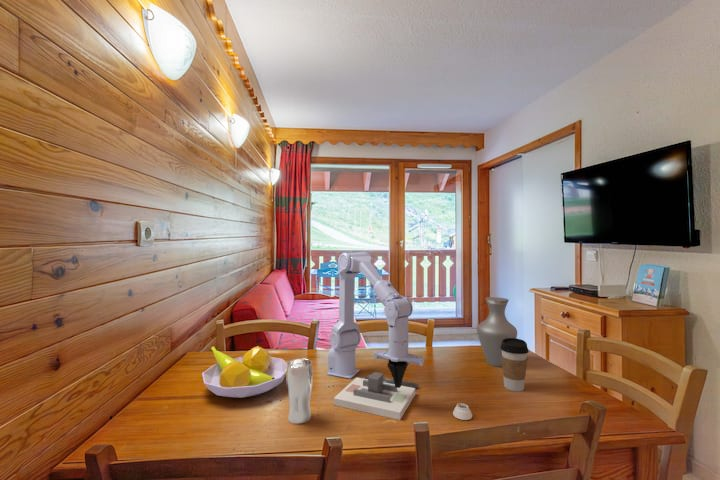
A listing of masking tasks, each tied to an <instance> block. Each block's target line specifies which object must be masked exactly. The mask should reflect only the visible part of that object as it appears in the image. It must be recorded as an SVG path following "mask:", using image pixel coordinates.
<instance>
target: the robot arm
mask: <svg viewBox="0 0 720 480" xmlns="http://www.w3.org/2000/svg"><path fill="white" fill-rule="evenodd" d="M337 274H338V276H339V286H338V287H339V289H338V291H339V295H338V296H339V297H338V300H339V301H338V321H337V322H336V323H335V324H334V325H332V327H331V334H330V336H329V337H330V338H329V340H330V341H329V342H330V345H331V347H330V348H329V350H328V354H327V372H326V374H327V375H328V376H332V377H333V376H334V377H339V378H345V379H352V378H354V376H356V375H357V374H359V372H360V370H361V369H359V368H357V367H356V360H357V359H356V357H357V355H356V351H357V349H358V346H359V344H360V343H361V341H362V340H361V339H362V336H361V333H360V325H358V323H356V322H355V319H354V318H355V317H354V316H355V278H356V277H357V276H358V275H359V274H362V275H363V276H364V278H366V279H367V280H368V281H369V283H370V284H371V285H372V286H373V293H374V294H375V296H376V297H377V298H378V300H379V301H380V303H381V304H382V305H383V306H384V307H383V311H384V314H385V316H386V323H387V325H388V350H375V351H374V352H373V359H374V360H378V359H380V360H386V361H388V363H387V368H388V369H389V372H390V374H391V375H392V379H393V380H394V384H395V387H397V388H400V387H401V385H402V381H404V375H405V372H406V370H407V367H408V365H409V364H412V365H418V366H420V367H423V366H424V364H425V358H424V356H418V355H415V354H412V353H409V317H410V316H411V315H413V312H414V311H413V310H414V309H413V302H412V301H411V300H410V298H409V297H407V296H403V295H401V294H400V293H399V292H398V291H397V289H396V288H395V287H394V286H393V285H392V282H391V281H390V280H388V279H387V280H386V279H383V278H382V276H381V275H380V273H379V272H378V270H377V269H376V267H375V266H374V264H373V258H372V256H371V255H370V254H369V253H368V252H367V251H361V252H360V251H359V252H358V251H357V252H342V253H341V254H340V255H339V256H338V259H337Z"/></svg>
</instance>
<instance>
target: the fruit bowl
mask: <svg viewBox="0 0 720 480" xmlns="http://www.w3.org/2000/svg"><path fill="white" fill-rule="evenodd" d="M210 349H211V350H212V352H213V356H214V358H215V360H216V362H217V363H215V364H213V365H212V366H210V367H209V368H208V369H206V370H205V371H203V372H202V373H201V375H202V379H203V384H204V385H205V386H206V388H207V389H208V390H209V391H210V392H212V393H213V394H215V396H220V397H224V398H225V397H226V398H241V399H242V398H247V397H253V396H260V395H262V394H264V393H267V392H268V391H270V390H272V389H274V388H275V387H277V386H278V385H281V384H282V382H283V381H284V379H285V378H286V377H285V376H286V375H287V363H288V362H286V361H285V360H284V359H283V358H279V357H273V356H271V355H270V352H269V350H267V349H265V348H263V347H261V346H259V345H257V346H254V347H252V348H251V349H250V350H248V351H247V352H245V353H244V354H243V356H238V357H236V358H235V357H234V358H233V357H232V356H229V355H228V354H226V353H224V352H221V351H219V350H217V349H216V347H215V346H214V345H213V346H212V347H210Z"/></svg>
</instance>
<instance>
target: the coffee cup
mask: <svg viewBox="0 0 720 480" xmlns="http://www.w3.org/2000/svg"><path fill="white" fill-rule="evenodd" d="M500 349H501V350H502V355H501V356H502V367H501V368H502V373H503V374H502V375H503V376H502V377H503V385H504V388H505V389H506V390H508V391H513V392H523V391H524V390H525V382H526V373H527V367H528V353H529V352H530V350H529V348H528V344H527V342H526V341H525V340H524V339H520V338H505V339H503V340H502V345H501V347H500Z"/></svg>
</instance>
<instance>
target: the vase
mask: <svg viewBox="0 0 720 480" xmlns="http://www.w3.org/2000/svg"><path fill="white" fill-rule="evenodd" d="M484 300H485V301H486V303H487V307H488V315H487V317H486V319H484V320H483V321H481V322H480V323H479V324H478V325H477V326H476V332H477V333H476V334H477V336H478V339H479V342H480V347H481V350H482V352H483V355H484V357H485V359H486V363H487V364H488V365H489V366H493V367H499V368H503V367H502V356H501V355H502V350H501V349H500V347H501V345H502V340H503V339H505V338H516V339H518V338H517V337H518V329H517V328H516V327H515V326H514V325H513V323H511V322H510V321H508V319H507V317H506V314H505V313H506V308H507V306H508V302H509V301H510V300H509V299H508V298H504V297H499V296H498V297H496V296H495V297H491V296H490V297H489V296H488V297H485V299H484Z"/></svg>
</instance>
